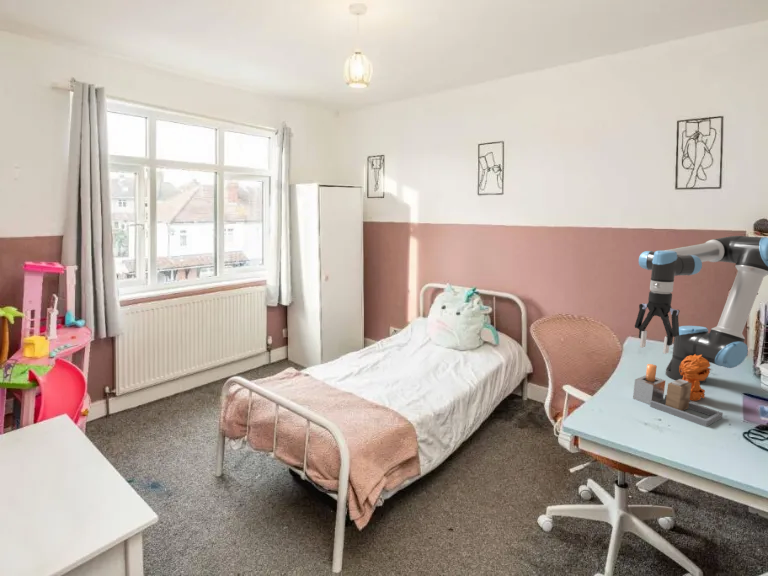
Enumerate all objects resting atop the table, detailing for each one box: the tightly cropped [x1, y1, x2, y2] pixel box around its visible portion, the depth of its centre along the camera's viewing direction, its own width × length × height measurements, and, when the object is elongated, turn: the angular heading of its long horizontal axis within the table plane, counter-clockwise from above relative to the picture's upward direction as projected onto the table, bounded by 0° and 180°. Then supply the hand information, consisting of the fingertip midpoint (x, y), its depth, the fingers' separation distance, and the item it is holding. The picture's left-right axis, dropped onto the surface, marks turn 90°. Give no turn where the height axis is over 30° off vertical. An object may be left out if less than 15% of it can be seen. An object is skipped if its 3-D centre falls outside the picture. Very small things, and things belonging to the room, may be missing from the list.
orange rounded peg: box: [645, 363, 657, 382], centre depth 180 cm, size 3×3×6 cm
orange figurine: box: [679, 354, 712, 402], centre depth 182 cm, size 11×11×18 cm
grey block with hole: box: [632, 374, 666, 406], centre depth 182 cm, size 9×7×8 cm
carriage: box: [664, 379, 692, 412], centre depth 173 cm, size 8×4×11 cm, turn 123°
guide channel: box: [649, 394, 723, 428], centre depth 171 cm, size 12×19×2 cm, turn 33°
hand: (653, 349), depth 179 cm, fingers open, 8 cm apart
